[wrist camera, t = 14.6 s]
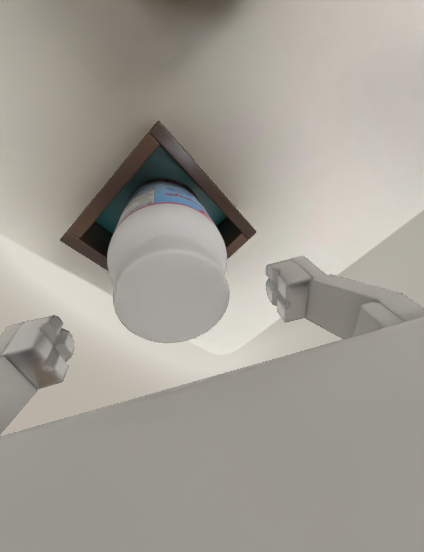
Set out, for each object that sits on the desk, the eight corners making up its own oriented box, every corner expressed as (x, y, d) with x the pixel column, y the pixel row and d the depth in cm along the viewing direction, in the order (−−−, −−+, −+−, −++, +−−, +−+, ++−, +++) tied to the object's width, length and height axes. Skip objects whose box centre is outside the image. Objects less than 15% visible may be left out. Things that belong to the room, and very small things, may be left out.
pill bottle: (216, 221, 20) (272, 302, 10) (161, 264, 21) (168, 373, 11) (168, 158, 17) (186, 192, 7) (106, 212, 18) (53, 304, 8)
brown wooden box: (157, 122, 16) (158, 119, 12) (237, 212, 21) (257, 232, 17) (79, 216, 18) (59, 240, 14) (168, 279, 23) (171, 311, 19)
